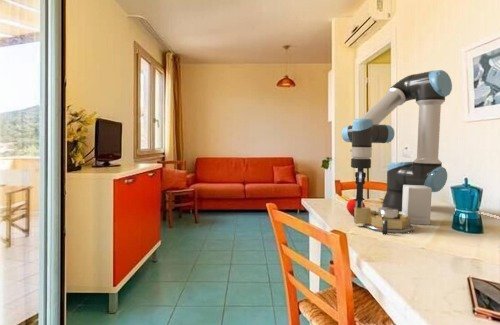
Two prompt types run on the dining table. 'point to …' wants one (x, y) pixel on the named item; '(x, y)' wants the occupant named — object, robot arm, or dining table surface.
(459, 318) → the dining table surface
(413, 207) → the supplement box
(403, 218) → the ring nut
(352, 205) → the apple
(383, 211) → the hub base
